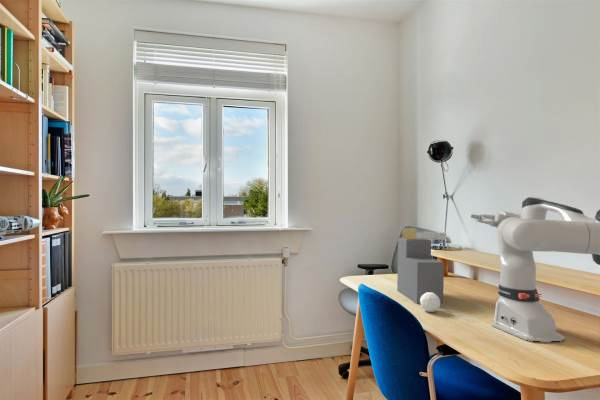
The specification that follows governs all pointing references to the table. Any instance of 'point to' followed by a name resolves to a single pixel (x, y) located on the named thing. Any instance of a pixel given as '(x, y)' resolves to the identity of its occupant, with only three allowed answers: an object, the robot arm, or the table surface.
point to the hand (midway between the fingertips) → (476, 216)
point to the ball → (430, 302)
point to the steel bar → (421, 235)
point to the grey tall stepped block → (418, 270)
